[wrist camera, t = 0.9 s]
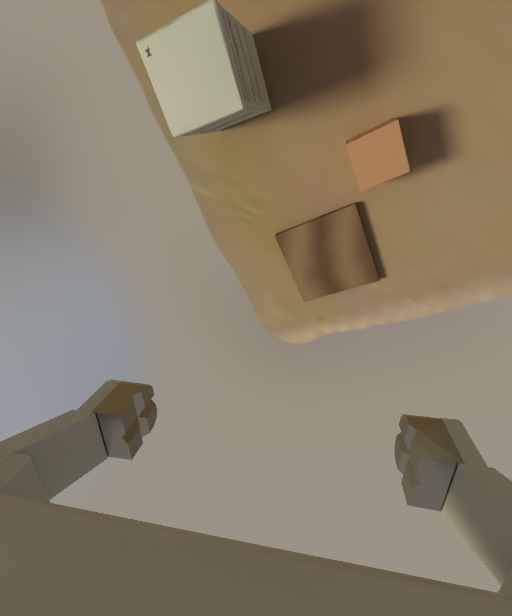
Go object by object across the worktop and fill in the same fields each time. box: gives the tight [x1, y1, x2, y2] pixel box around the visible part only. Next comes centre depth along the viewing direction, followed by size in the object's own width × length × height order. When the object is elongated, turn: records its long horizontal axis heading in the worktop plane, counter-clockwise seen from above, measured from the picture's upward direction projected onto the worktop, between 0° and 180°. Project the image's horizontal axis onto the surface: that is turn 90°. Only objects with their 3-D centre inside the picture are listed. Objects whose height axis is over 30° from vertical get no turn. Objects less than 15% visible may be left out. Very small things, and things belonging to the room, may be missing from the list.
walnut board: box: [275, 203, 379, 302], centre depth 42 cm, size 11×11×1 cm
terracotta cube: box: [346, 119, 410, 192], centre depth 33 cm, size 5×5×5 cm
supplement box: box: [136, 0, 271, 137], centre depth 30 cm, size 7×7×13 cm
